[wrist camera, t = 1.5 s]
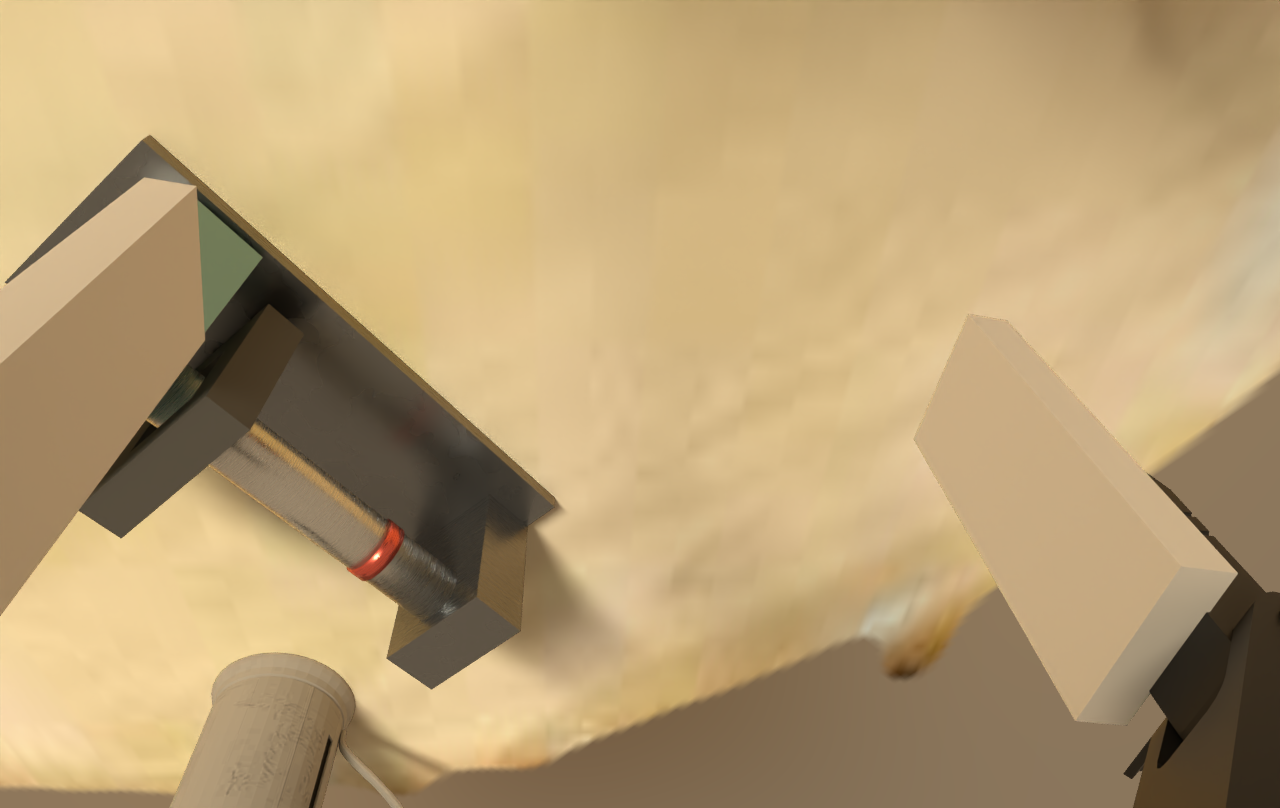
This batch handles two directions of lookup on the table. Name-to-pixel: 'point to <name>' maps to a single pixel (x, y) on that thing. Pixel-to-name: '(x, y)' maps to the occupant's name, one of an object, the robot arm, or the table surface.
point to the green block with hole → (221, 263)
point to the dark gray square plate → (196, 424)
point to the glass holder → (272, 737)
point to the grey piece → (361, 454)
